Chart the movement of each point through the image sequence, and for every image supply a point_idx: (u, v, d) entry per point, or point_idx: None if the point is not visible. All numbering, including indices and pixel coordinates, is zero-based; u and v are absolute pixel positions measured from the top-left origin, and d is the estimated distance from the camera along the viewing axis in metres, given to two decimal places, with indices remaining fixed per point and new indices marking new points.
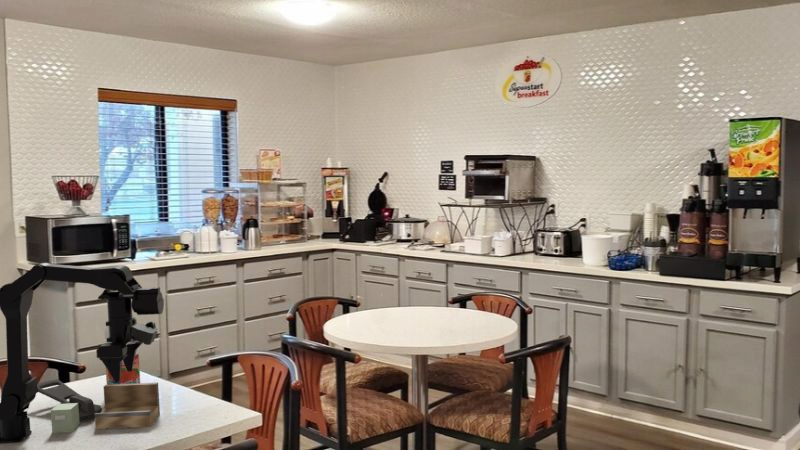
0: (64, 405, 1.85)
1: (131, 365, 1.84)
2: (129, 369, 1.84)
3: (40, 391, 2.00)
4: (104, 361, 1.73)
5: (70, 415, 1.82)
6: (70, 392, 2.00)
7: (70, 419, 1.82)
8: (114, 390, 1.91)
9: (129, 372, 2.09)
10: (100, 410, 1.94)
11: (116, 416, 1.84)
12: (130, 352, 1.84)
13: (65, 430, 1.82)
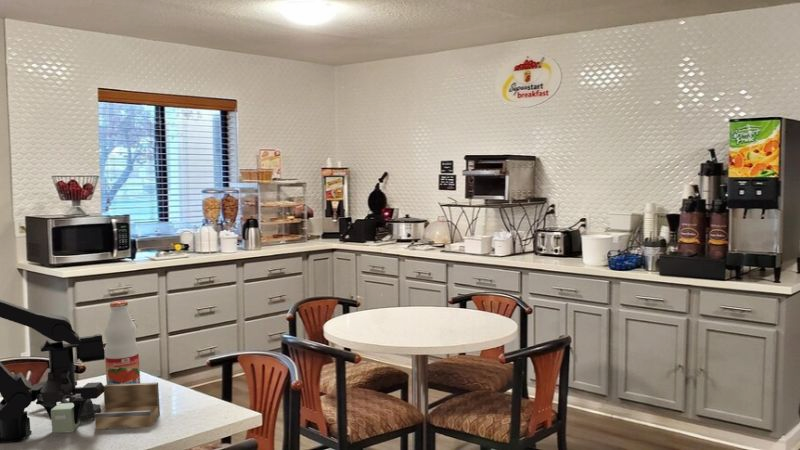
0: (64, 405, 1.85)
1: None
2: None
3: None
4: None
5: (70, 415, 1.82)
6: None
7: (70, 419, 1.82)
8: (114, 390, 1.91)
9: (129, 372, 2.09)
10: (99, 410, 1.94)
11: (116, 416, 1.84)
12: None
13: (65, 430, 1.82)
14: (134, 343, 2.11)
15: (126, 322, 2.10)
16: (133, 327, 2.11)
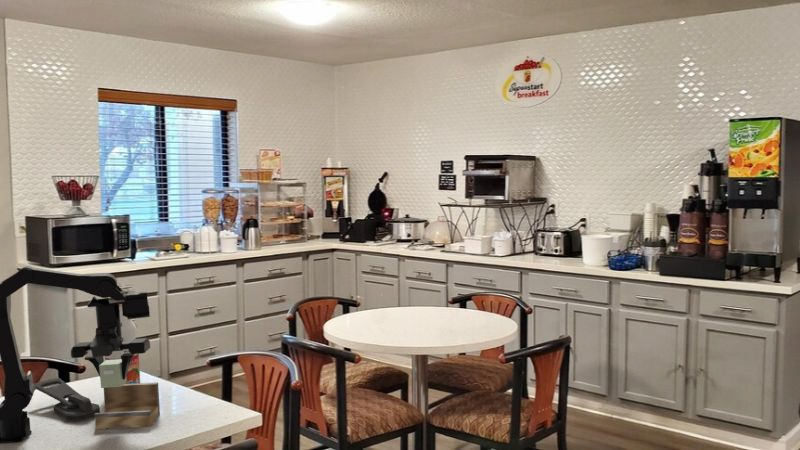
0: (112, 361, 1.87)
1: None
2: None
3: (40, 390, 2.01)
4: None
5: (118, 370, 1.84)
6: (70, 391, 2.01)
7: (118, 374, 1.84)
8: (114, 390, 1.91)
9: (129, 372, 2.09)
10: (98, 409, 1.95)
11: (116, 416, 1.84)
12: None
13: (114, 385, 1.85)
14: None
15: (126, 322, 2.10)
16: (133, 327, 2.11)
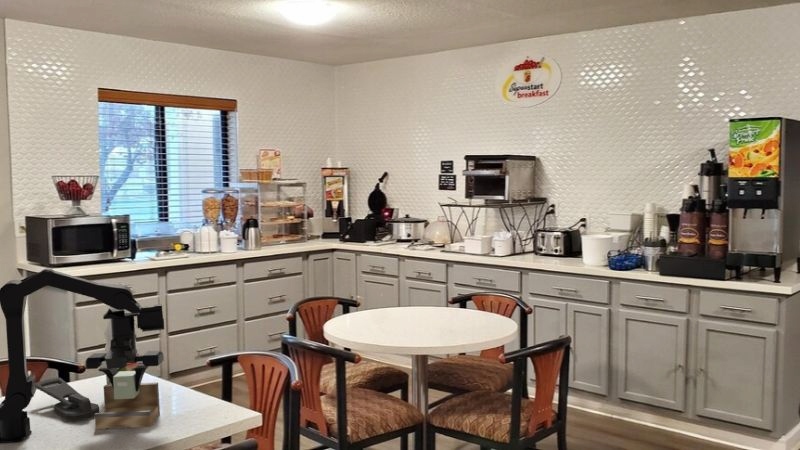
0: (125, 373, 1.89)
1: None
2: None
3: (41, 389, 2.02)
4: None
5: (132, 382, 1.86)
6: (70, 391, 2.01)
7: (132, 386, 1.86)
8: None
9: None
10: (98, 409, 1.95)
11: (116, 416, 1.84)
12: None
13: (127, 396, 1.86)
14: None
15: None
16: None
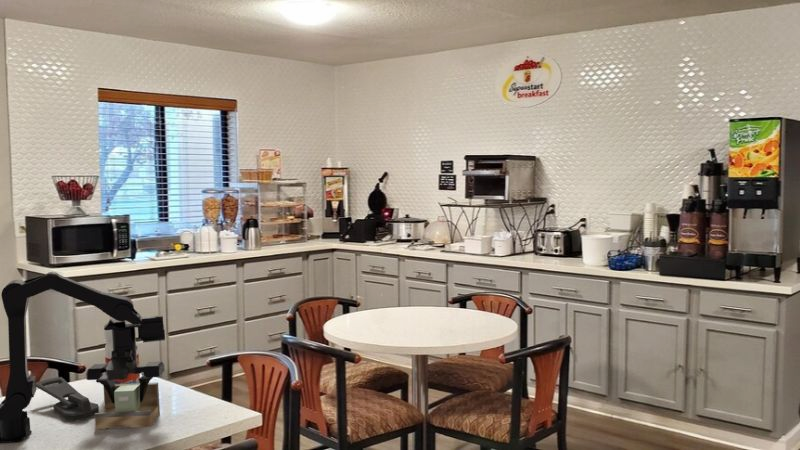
0: (126, 387, 1.89)
1: (140, 396, 1.88)
2: None
3: (42, 388, 2.02)
4: None
5: (133, 396, 1.86)
6: (70, 390, 2.02)
7: (133, 400, 1.86)
8: None
9: None
10: (97, 409, 1.95)
11: (116, 416, 1.84)
12: None
13: (128, 411, 1.87)
14: None
15: (126, 322, 2.10)
16: None
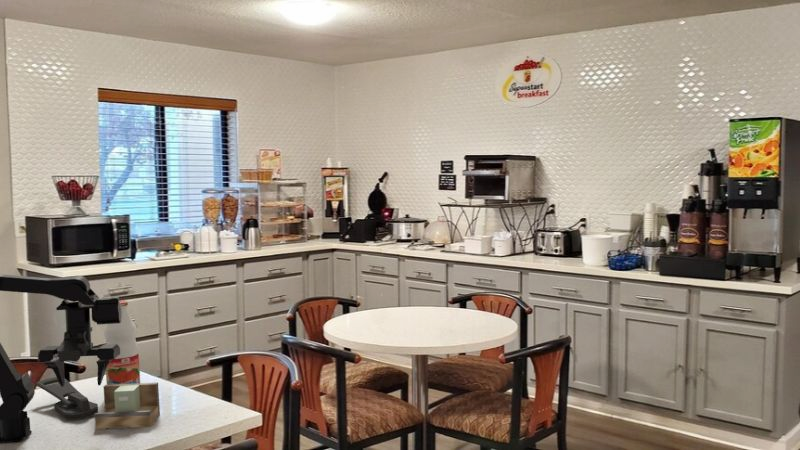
0: (126, 387, 1.89)
1: None
2: None
3: (43, 387, 2.03)
4: None
5: (133, 396, 1.86)
6: (70, 390, 2.02)
7: (133, 400, 1.86)
8: (114, 390, 1.91)
9: (129, 372, 2.09)
10: (96, 408, 1.95)
11: (116, 416, 1.84)
12: None
13: (128, 411, 1.87)
14: (134, 343, 2.11)
15: (126, 322, 2.10)
16: (133, 327, 2.11)
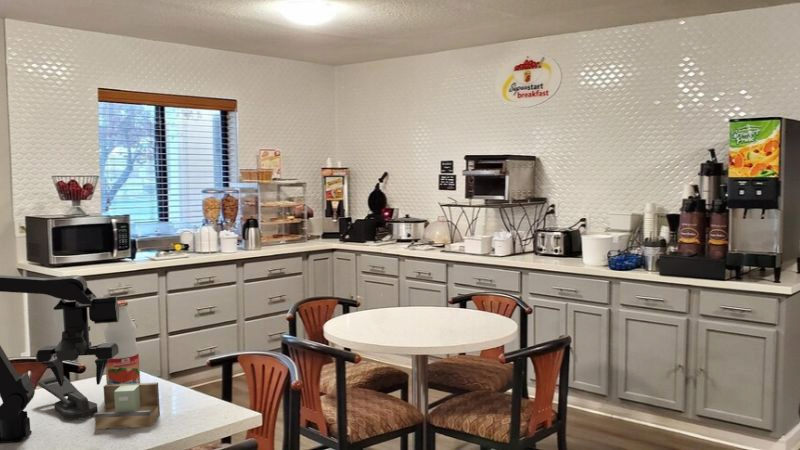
0: (126, 387, 1.89)
1: None
2: None
3: (43, 387, 2.04)
4: None
5: (133, 396, 1.86)
6: (71, 389, 2.03)
7: (133, 400, 1.86)
8: (114, 390, 1.91)
9: (129, 372, 2.09)
10: (95, 408, 1.95)
11: (116, 416, 1.84)
12: None
13: (128, 411, 1.87)
14: (134, 343, 2.11)
15: (126, 322, 2.10)
16: (133, 327, 2.11)
